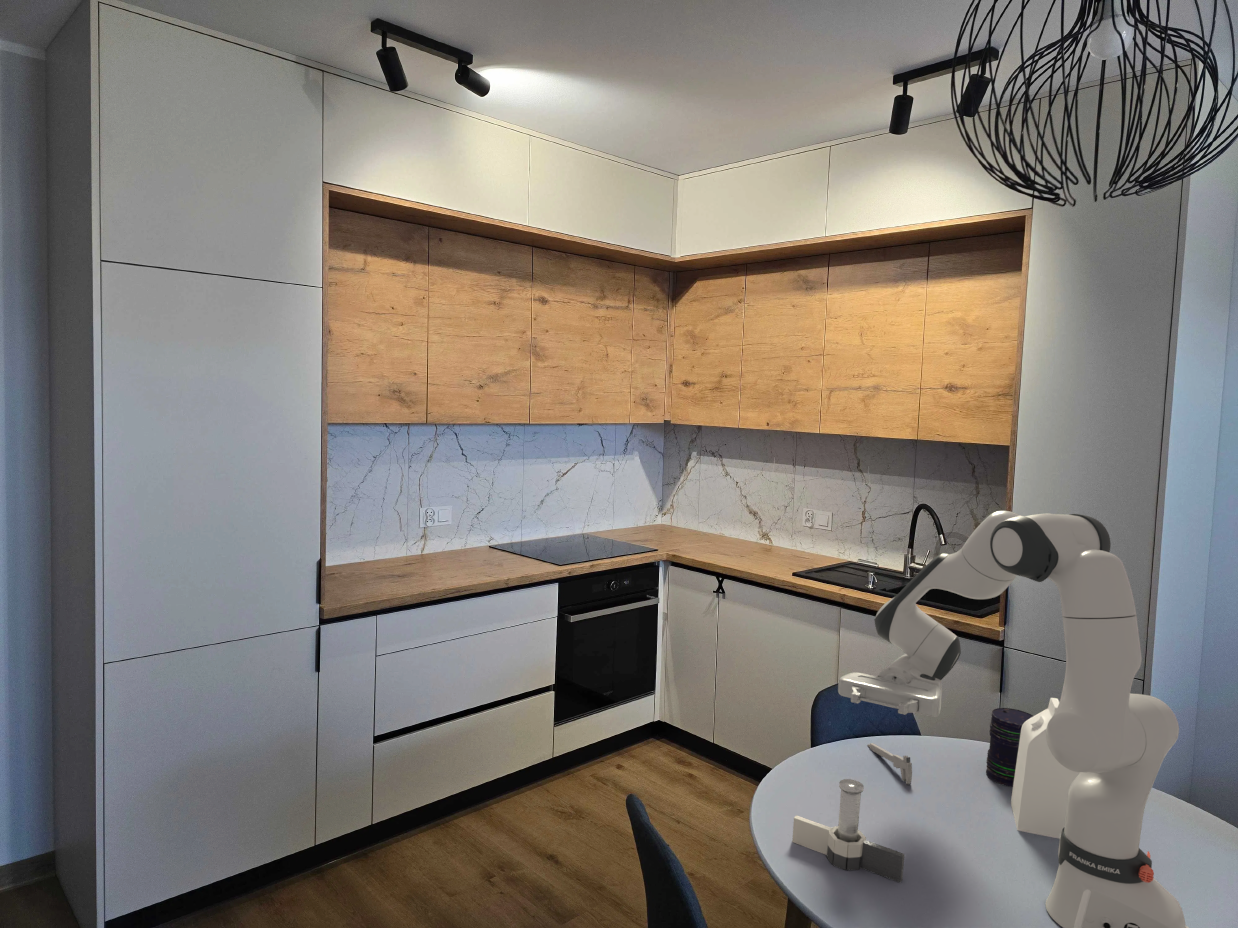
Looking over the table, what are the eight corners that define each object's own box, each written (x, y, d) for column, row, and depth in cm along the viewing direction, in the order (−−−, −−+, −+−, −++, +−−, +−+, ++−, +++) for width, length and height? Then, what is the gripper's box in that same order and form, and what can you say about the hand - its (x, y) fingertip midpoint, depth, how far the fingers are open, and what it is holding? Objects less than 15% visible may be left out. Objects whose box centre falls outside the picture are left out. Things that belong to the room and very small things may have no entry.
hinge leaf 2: (906, 872, 156) (908, 847, 155) (895, 889, 151) (898, 863, 150) (835, 846, 164) (837, 822, 163) (822, 861, 159) (824, 836, 158)
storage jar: (1041, 784, 194) (1048, 722, 192) (1009, 790, 190) (1015, 727, 188) (1007, 765, 203) (1013, 705, 201) (975, 770, 199) (981, 709, 198)
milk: (1079, 842, 169) (1093, 718, 167) (1017, 830, 173) (1029, 708, 170) (1069, 814, 181) (1081, 697, 178) (1010, 802, 184) (1022, 688, 182)
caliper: (911, 786, 191) (913, 759, 190) (906, 786, 191) (909, 759, 190) (870, 746, 211) (872, 722, 210) (866, 746, 211) (868, 722, 210)
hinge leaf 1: (867, 858, 160) (869, 833, 160) (856, 874, 155) (858, 848, 154) (799, 833, 168) (801, 809, 167) (786, 847, 163) (788, 822, 162)
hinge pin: (860, 859, 160) (867, 783, 158) (852, 869, 156) (858, 792, 155) (838, 850, 162) (844, 776, 161) (830, 860, 159) (835, 785, 157)
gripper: (851, 661, 183) (827, 677, 172) (949, 681, 172) (931, 700, 160) (849, 689, 184) (826, 707, 172) (947, 711, 172) (929, 732, 161)
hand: (877, 704), depth 166 cm, fingers open, 8 cm apart
